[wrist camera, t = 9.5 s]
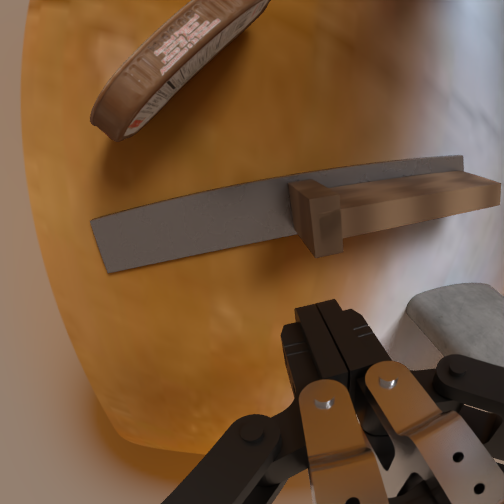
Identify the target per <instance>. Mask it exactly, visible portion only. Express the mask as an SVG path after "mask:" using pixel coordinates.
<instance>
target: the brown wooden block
mask: <svg viewBox="0 0 504 504" xmlns="http://www.w3.org/2000/svg"><path fill="white" fill-rule="evenodd" d="M288 187H289V194H290V201H291V208H292V215H293V223H294V230H295V231H296V232H297V234H298V235H299V236H300V238H301V239H302V240H303V242H304V243H305V245H306V246H307V247H308V249H309V250H310V251H311V253H312V254H313V255H314V257H315V258H319V257H323V256H328V255H333V254H337V253H342V252H343V238H347V237H352V236H357V235H361V234H366V233H371V232H376V231H380V230H385V229H390V228H395V227H399V226H404V225H409V224H414V223H418V222H423V221H428V220H432V219H437V218H442V217H447V216H451V215H456V214H461V213H465V212H470V211H475V210H479V209H484V208H489V207H493V206H498V205H500V193H501V183H498V182H495V181H492V180H489V179H486V178H483V177H480V176H477V175H473V174H470V173H467V172H463V171H451V172H442V173H433V174H424V175H416V176H408V177H401V178H393V179H386V180H379V181H372V182H365V183H358V184H351V185H345V186H339V187H332V188H327V187H325V186H324V185H322V184H320V183H318V182H317V181H315V180H313V179H308V180H301V181H295V182H290V183H288Z"/></svg>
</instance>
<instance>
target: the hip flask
mask: <svg viewBox="0 0 504 504" xmlns="http://www.w3.org/2000/svg"><path fill="white" fill-rule="evenodd" d="M407 314H408V315H409V316H410V318H411V319H412V320H413V321H414V322H415V323H416V324H417V325H418V327H419V328H420V329H421V330H422V331H423V332H424V333H425V335H426V336H427V337H428V338H429V339H430V340H431V342H432V343H433V344H434V345H435V346H436V347H437V349H438V350H439V351H440V352H441V353H442V355H443V356H444V357H445V356H448V355H451V354H460V355H464V356H467V357H471V358H474V359H477V360H481V361H484V362H488V363H491V364H494V365H498V366H501V367H504V296H503V295H501V294H500V293H499V292H498V291H496V290H495V289H494V288H492V287H491V286H490V285H488V284H483V283H462V284H454V285H449V286H444V287H440V288H436V289H432V290H429V291H426V292H423V293H420V294H417V295H416V296H414V297H413V298H412V299H411V300H410V302H409V303H408V306H407ZM488 413H492V412H488Z"/></svg>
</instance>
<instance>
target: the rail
mask: <svg viewBox="0 0 504 504" xmlns="http://www.w3.org/2000/svg"><path fill="white" fill-rule="evenodd" d="M451 171H463V172H464V166H463V156H462V155H454V156H440V157H427V158H415V159H405V160H395V161H386V162H377V163H369V164H360V165H353V166H345V167H338V168H331V169H324V170H317V171H311V172H304V173H298V174H292V175H286V176H280V177H275V178H269V179H263V180H258V181H253V182H247V183H242V184H237V185H232V186H227V187H222V188H217V189H213V190H208V191H203V192H199V193H194V194H190V195H185V196H181V197H177V198H172V199H168V200H164V201H160V202H156V203H152V204H148V205H144V206H140V207H136V208H132V209H128V210H124V211H121V212H117V213H113V214H109V215H106V216H102V217H99V218H95V219H92V220H91V221H90V223H91V226H92V229H93V232H94V235H95V238H96V241H97V244H98V247H99V250H100V253H101V256H102V259H103V261H104V264H105V267H106V269H107V272H108V273H112V272H116V271H121V270H126V269H130V268H135V267H140V266H145V265H149V264H154V263H159V262H164V261H168V260H173V259H178V258H183V257H188V256H192V255H197V254H202V253H207V252H212V251H217V250H221V249H226V248H231V247H236V246H241V245H246V244H251V243H256V242H261V241H266V240H271V239H276V238H281V237H286V236H291V235H296V234H297V232H296V231H295V230H294V223H293V215H292V208H291V201H290V194H289V187H288V183H290V182H295V181H301V180H308V179H313V180H315V181H317V182H318V183H320V184H322V185H324V186H325V187H327V188H332V187H339V186H345V185H351V184H358V183H365V182H372V181H379V180H386V179H393V178H401V177H408V176H416V175H424V174H433V173H442V172H451Z"/></svg>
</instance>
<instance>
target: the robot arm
mask: <svg viewBox="0 0 504 504" xmlns="http://www.w3.org/2000/svg"><path fill="white" fill-rule="evenodd" d="M295 319H296V323H291V324H287V325H284V326H283V330H282V333H281V340H282V346H283V352H284V359H285V365H286V368H287V372H288V375H289V380H290V383H291V387H292V391H293V394H294V398H295V399H294V401H293V402H292V404H291V405H290V406H289V407H288V408H287V409H286V410H284V411H283V412H281V413H279V414H277V415H275V416H273V417H271V418H270V417H268V416H265V415H259V414H253V415H247V416H244V417H241V418H240V419H238V420H236V421H235V422H234V423H233V424H232V425H231V426H230V427H229V428H228V430H227V431H226V432H225V433H224V434H223V436H222V437H221V438H220V439H219V440H218V442H217V443H216V444H215V445H214V446H213V447H212V449H211V450H210V451H209V452H208V453H207V454H206V456H205V457H204V458H203V459H202V460H201V461H200V462H199V463H198V465H197V466H196V467H195V468H194V469H193V470H192V471H191V472H190V474H189V475H188V476H187V477H186V478H185V479H184V480H183V481H182V482H181V483H180V484H179V485H178V487H177V488H176V489H175V490H174V491H173V492H172V493H171V494H170V495H169V496H168V497H167V498H166V499H165V500H164V501H163V502H162V503H161V504H272V502H273V501H274V500H275V498H276V496H277V495H278V494H279V492H280V491H281V489H282V488H283V486H284V485H285V483H286V482H287V480H288V478H290V477H292V476H294V475H295V474H298V473H299V472H301V471H303V470H305V469H307V468H308V473H309V479H310V485H311V492H312V500H313V504H504V465H503V464H500V463H497V462H495V461H494V459H493V458H496V459H499V460H503V461H504V367H501V366H498V365H494V364H491V363H488V362H484V361H481V360H477V359H474V358H471V357H467V356H464V355H460V354H451V355H448V356H445V357H443V358H442V359H441V360H440V361H439V363H438V364H437V367H436V369H428V370H419V371H412V370H409V369H408V368H407V367H406V366H404V365H403V364H401V363H399V362H395V361H392V360H391V358H390V357H389V355H388V354H387V352H386V351H385V349H384V348H383V346H382V345H381V343H380V342H379V340H378V339H377V337H376V336H375V334H374V333H373V331H372V330H371V328H370V327H369V326H368V324H367V322H366V321H365V319H364V318H363V316H362V315H361V314H359V313H357V312H356V311H354V310H352V309H348V310H344V311H342V309H341V308H340V306H339V304H338V303H337V301H336V300H335V299H332V300H328V301H324V302H320V303H316V304H312V305H308V306H303V307H299V308H295ZM464 404H466V405H469V406H473V407H476V408H479V409H482V410H485V411H488V412H492V413H488V412H484V411H481V410H478V409H475V408H472V407H468V406H465V405H464ZM356 415H357V417H358V419H359V423H358V420H357V417H356ZM492 457H493V458H492Z"/></svg>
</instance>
